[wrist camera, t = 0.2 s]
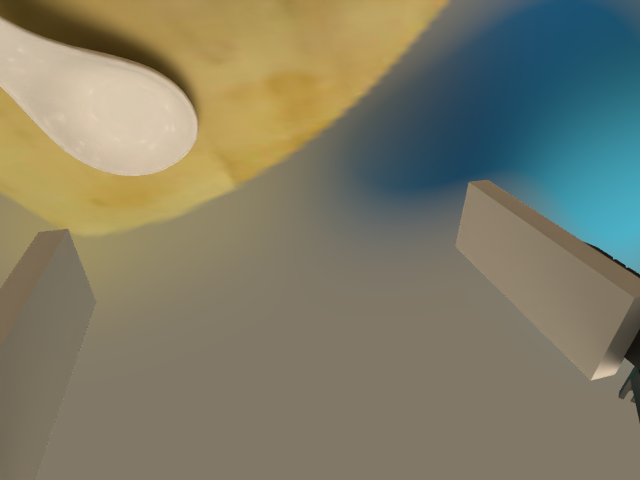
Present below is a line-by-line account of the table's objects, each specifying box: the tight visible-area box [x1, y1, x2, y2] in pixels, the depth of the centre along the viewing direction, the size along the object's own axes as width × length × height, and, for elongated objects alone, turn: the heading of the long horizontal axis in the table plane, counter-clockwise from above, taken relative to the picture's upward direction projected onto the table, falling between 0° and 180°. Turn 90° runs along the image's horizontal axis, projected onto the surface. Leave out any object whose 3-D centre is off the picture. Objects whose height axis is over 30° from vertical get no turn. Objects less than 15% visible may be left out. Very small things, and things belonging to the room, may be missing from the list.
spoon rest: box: [0, 16, 198, 176], centre depth 30 cm, size 24×12×7 cm, turn 29°
